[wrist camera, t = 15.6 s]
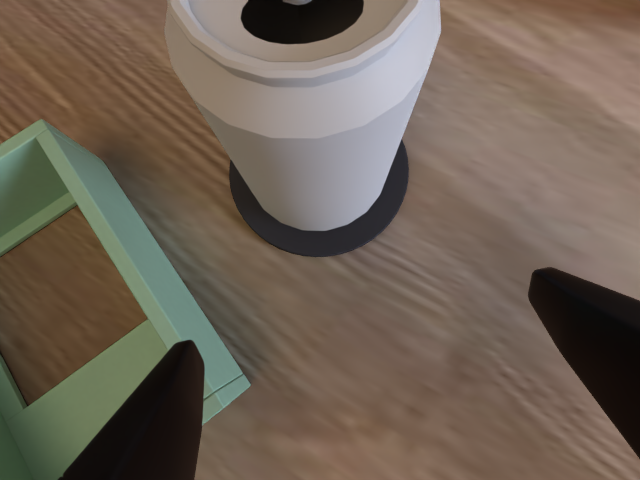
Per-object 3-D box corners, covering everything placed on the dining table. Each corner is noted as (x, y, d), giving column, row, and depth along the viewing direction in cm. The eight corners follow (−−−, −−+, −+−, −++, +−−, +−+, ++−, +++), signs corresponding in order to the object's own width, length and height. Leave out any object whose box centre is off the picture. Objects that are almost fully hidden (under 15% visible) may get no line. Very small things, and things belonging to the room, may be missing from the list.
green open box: (251, 385, 18) (224, 407, 13) (52, 540, 16) (-51, 622, 12) (103, 160, 21) (40, 117, 16) (-75, 278, 19) (-195, 266, 15)
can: (256, 244, 19) (128, 120, 7) (245, 118, 20) (127, -152, 9) (396, 225, 19) (502, 70, 7) (373, 101, 20) (429, -193, 9)
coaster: (397, 269, 19) (398, 269, 18) (214, 242, 19) (211, 240, 19) (415, 102, 21) (417, 98, 20) (249, 83, 21) (248, 79, 21)
